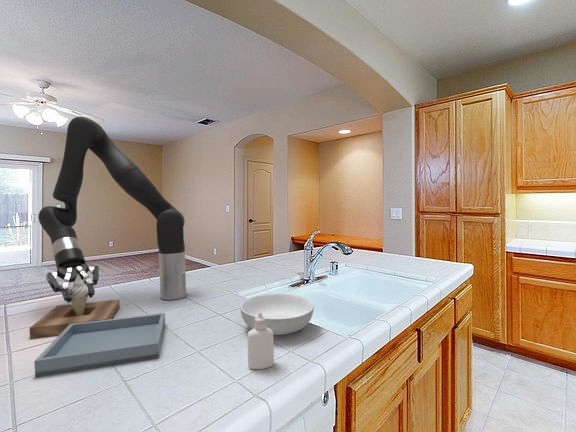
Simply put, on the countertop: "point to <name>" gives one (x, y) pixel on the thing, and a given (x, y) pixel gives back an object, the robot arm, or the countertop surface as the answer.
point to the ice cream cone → (79, 296)
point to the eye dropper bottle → (260, 345)
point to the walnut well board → (72, 317)
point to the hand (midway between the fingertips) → (80, 298)
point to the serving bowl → (278, 312)
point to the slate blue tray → (103, 344)
